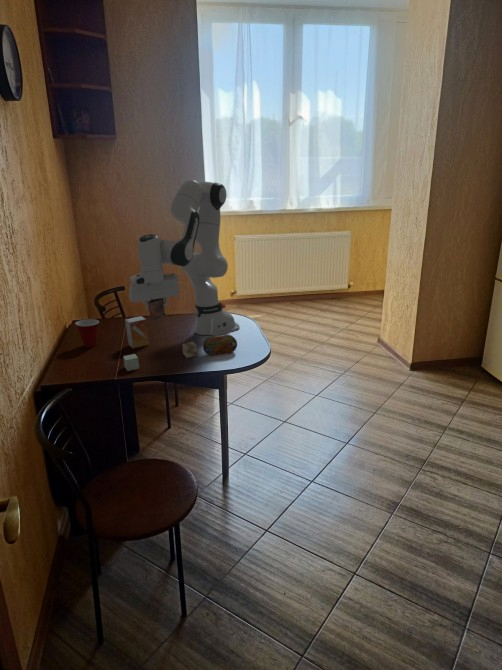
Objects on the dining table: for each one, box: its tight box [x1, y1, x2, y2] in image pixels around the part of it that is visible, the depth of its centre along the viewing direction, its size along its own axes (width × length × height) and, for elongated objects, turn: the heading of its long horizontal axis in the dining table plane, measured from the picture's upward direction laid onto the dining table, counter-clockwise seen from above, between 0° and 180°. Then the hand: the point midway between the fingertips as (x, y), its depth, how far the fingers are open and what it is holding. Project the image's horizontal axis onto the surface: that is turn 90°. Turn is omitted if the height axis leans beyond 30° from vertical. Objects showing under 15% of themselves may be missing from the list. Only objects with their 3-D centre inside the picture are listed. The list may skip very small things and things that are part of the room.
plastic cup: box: [74, 318, 100, 348], centre depth 223 cm, size 11×11×12 cm
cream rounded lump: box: [181, 341, 199, 359], centre depth 207 cm, size 5×5×5 cm
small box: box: [124, 315, 150, 349], centre depth 220 cm, size 8×6×13 cm
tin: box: [202, 334, 238, 357], centre depth 206 cm, size 15×3×8 cm, turn 101°
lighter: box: [147, 297, 166, 322], centre depth 192 cm, size 8×3×10 cm, turn 148°
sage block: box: [123, 353, 140, 372], centre depth 196 cm, size 5×5×5 cm
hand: (156, 309), depth 192 cm, fingers closed on lighter, 5 cm apart
